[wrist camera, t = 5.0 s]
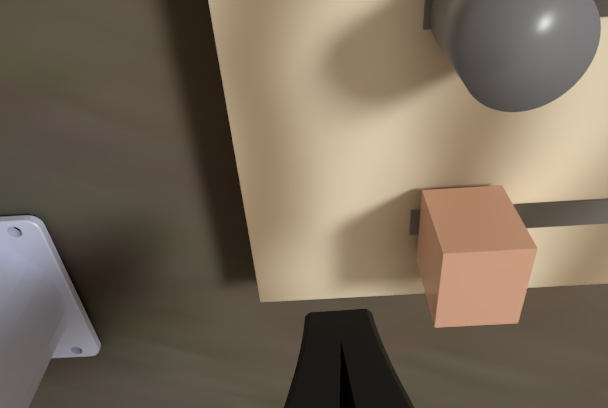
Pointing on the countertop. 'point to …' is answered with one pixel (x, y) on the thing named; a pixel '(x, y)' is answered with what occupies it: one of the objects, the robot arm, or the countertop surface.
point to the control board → (393, 147)
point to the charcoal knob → (517, 47)
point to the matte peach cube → (473, 256)
